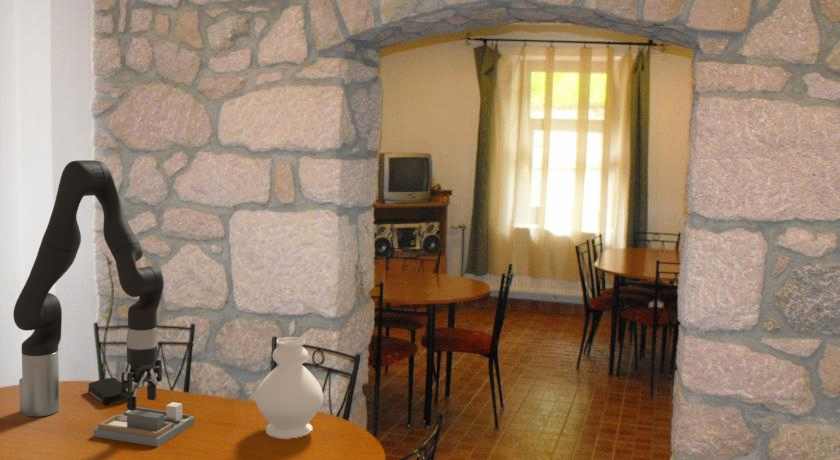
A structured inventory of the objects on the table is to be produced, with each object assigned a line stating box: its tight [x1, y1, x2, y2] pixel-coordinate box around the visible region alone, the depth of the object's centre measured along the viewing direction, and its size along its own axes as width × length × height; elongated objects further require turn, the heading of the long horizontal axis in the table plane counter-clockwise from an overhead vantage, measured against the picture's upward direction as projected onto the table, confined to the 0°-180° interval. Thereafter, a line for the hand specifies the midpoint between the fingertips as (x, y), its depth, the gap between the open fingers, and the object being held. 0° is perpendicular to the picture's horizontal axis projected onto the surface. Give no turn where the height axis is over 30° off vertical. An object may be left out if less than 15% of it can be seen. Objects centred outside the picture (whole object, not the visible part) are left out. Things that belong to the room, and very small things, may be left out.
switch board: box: [93, 406, 195, 447], centre depth 212 cm, size 19×17×3 cm
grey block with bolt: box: [116, 410, 165, 432], centre depth 208 cm, size 13×3×4 cm, turn 75°
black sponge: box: [87, 377, 127, 406], centre depth 237 cm, size 16×8×4 cm, turn 41°
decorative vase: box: [255, 336, 324, 440], centre depth 214 cm, size 18×18×25 cm
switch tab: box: [165, 401, 183, 420], centre depth 215 cm, size 3×3×4 cm
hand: (141, 404), depth 207 cm, fingers open, 8 cm apart
